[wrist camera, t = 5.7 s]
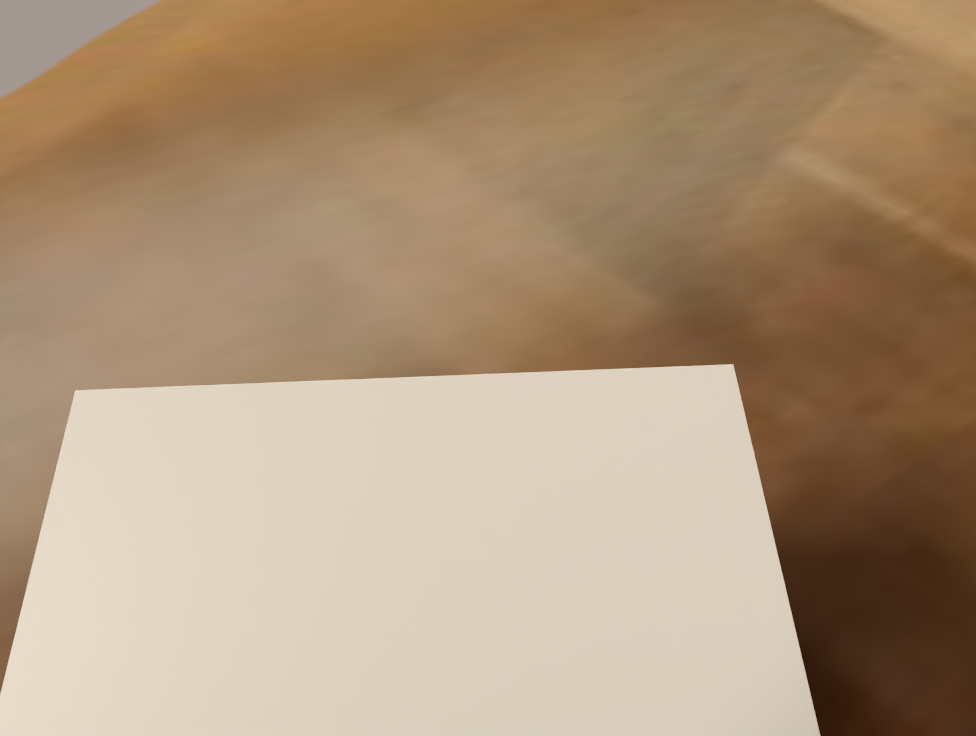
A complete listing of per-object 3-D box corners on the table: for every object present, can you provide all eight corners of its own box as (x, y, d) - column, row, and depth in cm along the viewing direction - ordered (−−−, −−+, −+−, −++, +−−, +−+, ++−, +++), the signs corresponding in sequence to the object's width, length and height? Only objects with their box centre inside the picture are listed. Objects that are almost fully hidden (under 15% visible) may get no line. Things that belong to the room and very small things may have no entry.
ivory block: (572, 765, 14) (978, 1408, 3) (357, 778, 13) (-210, 1529, 2) (552, 543, 16) (734, 364, 4) (365, 552, 15) (75, 389, 4)
